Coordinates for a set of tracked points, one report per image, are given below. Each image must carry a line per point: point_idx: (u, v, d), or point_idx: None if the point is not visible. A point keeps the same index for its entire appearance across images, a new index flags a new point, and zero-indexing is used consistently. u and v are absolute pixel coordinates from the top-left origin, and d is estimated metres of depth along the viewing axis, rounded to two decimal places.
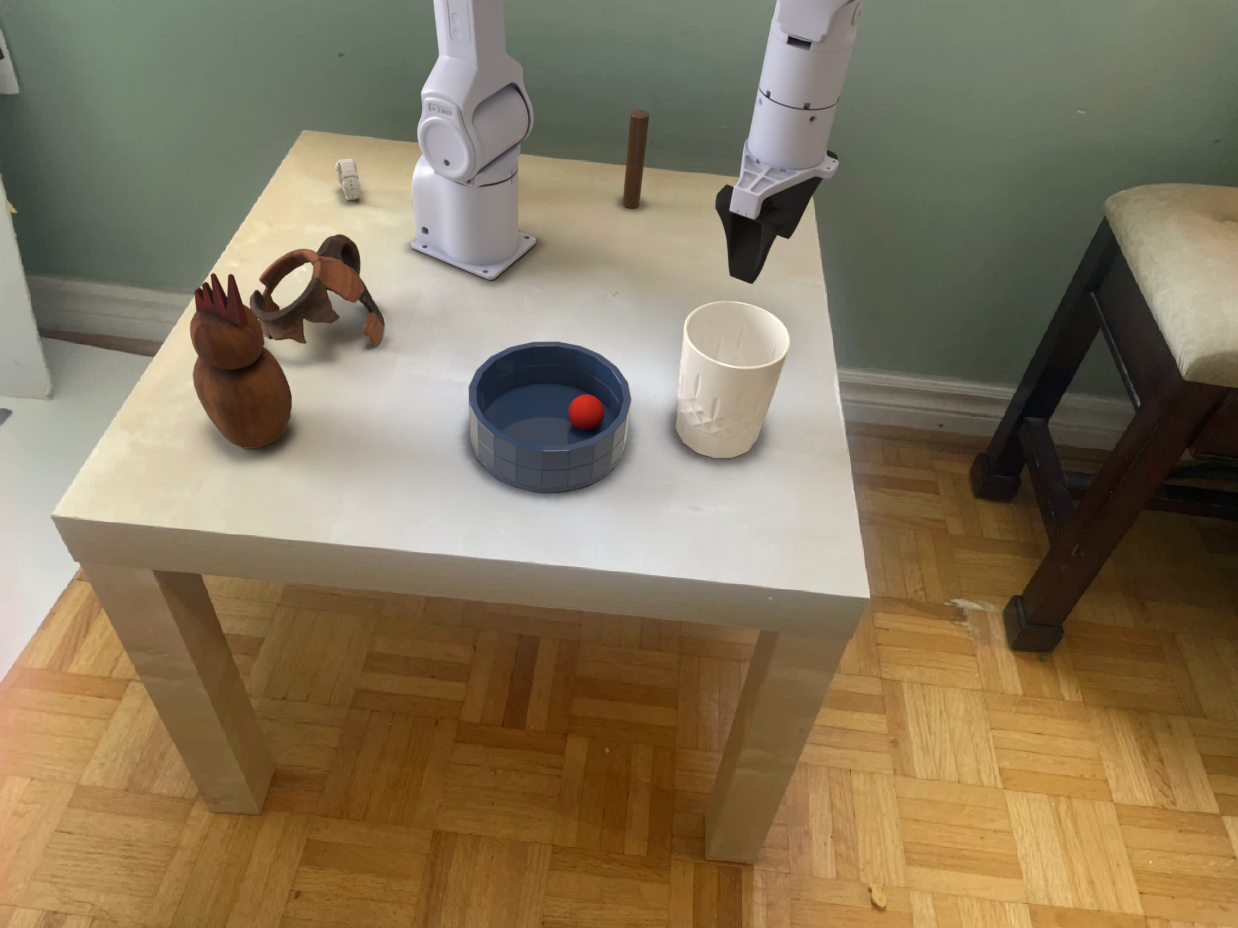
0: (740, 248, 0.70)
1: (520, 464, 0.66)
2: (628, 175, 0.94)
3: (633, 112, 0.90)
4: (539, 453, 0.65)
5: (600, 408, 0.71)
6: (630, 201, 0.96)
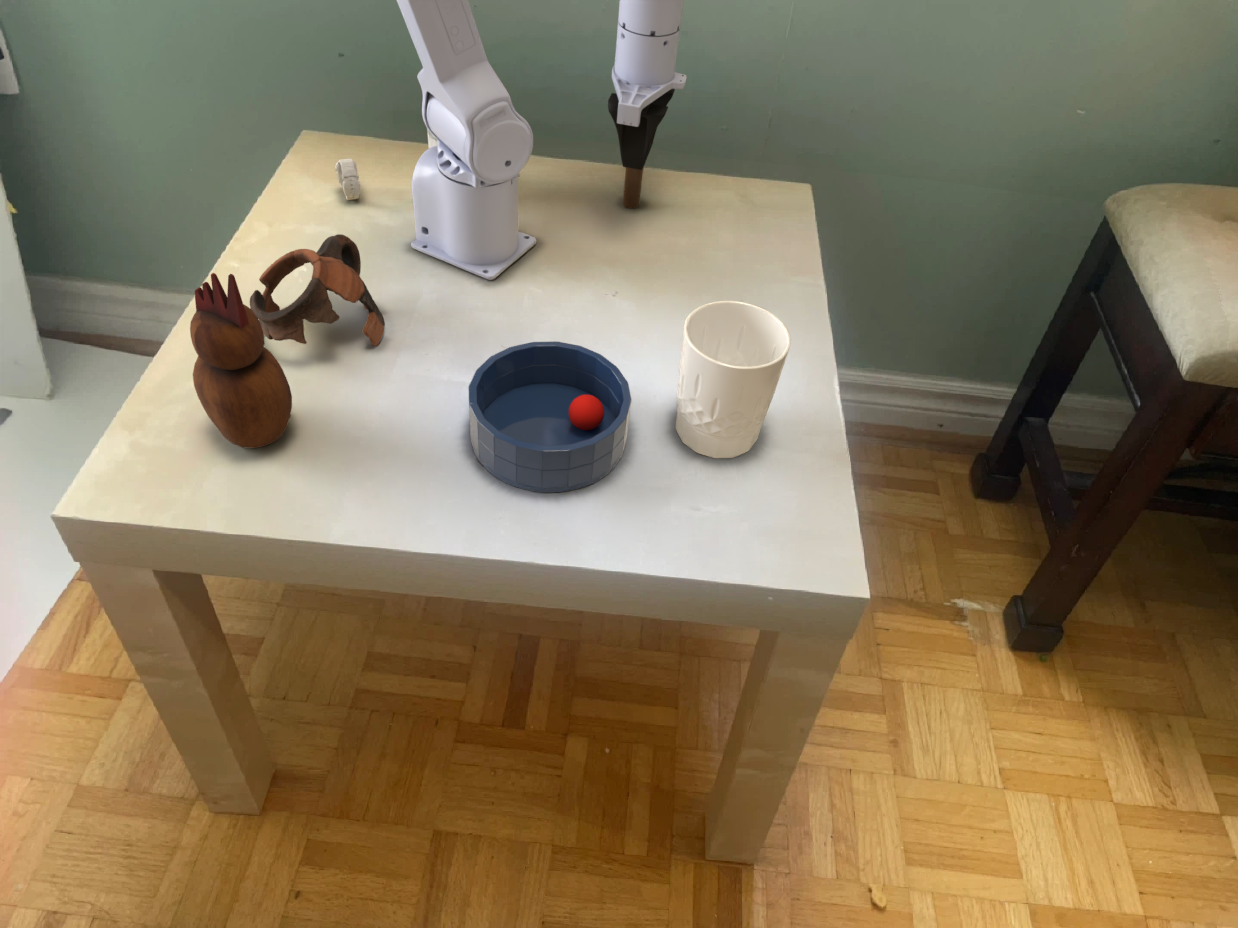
0: (629, 142, 0.90)
1: (520, 464, 0.66)
2: (628, 175, 0.94)
3: None
4: (539, 453, 0.65)
5: (600, 408, 0.71)
6: (630, 201, 0.96)
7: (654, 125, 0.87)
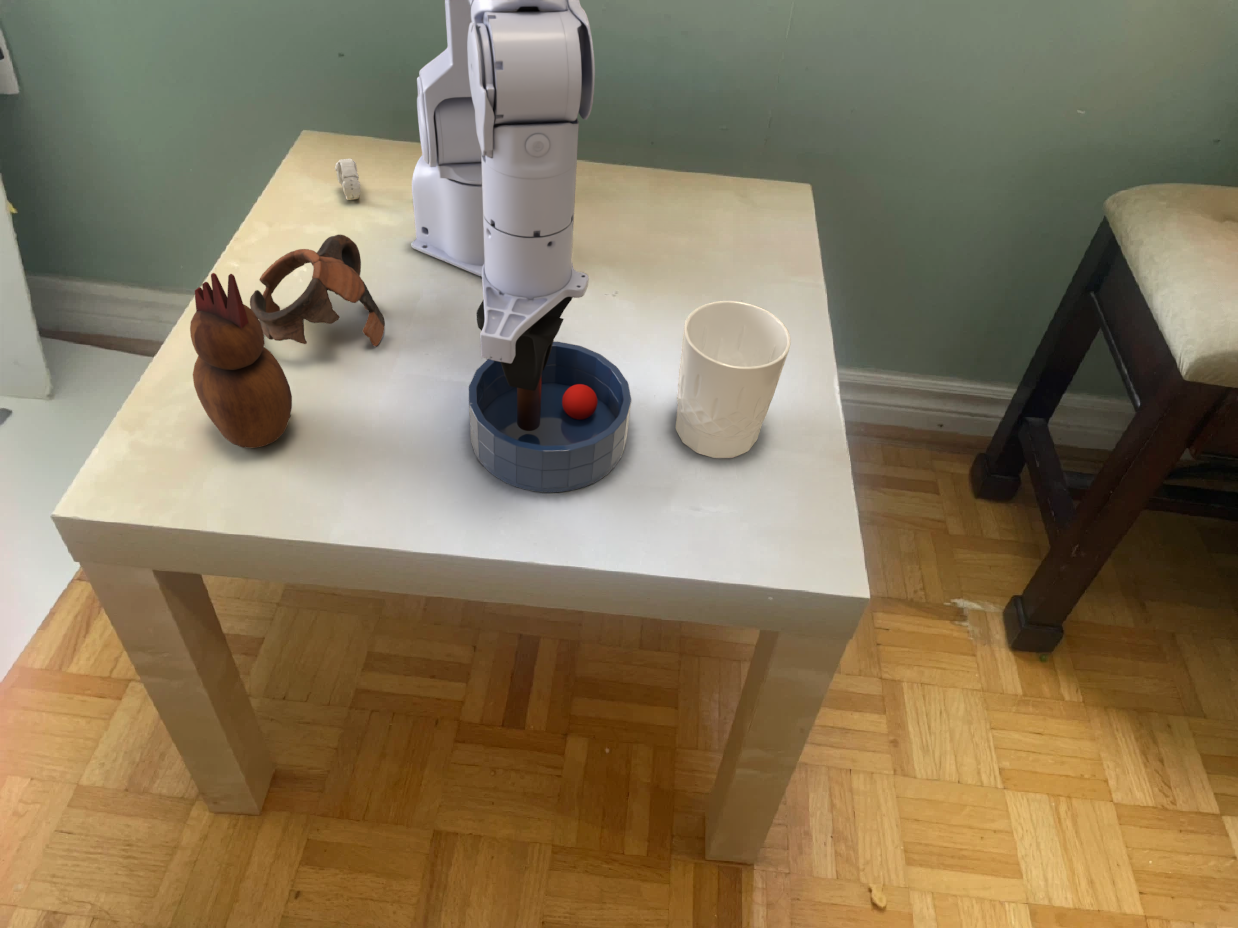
0: (514, 359, 0.64)
1: (520, 464, 0.66)
2: (520, 393, 0.68)
3: None
4: (539, 453, 0.65)
5: (591, 399, 0.72)
6: (525, 423, 0.70)
7: (543, 346, 0.61)
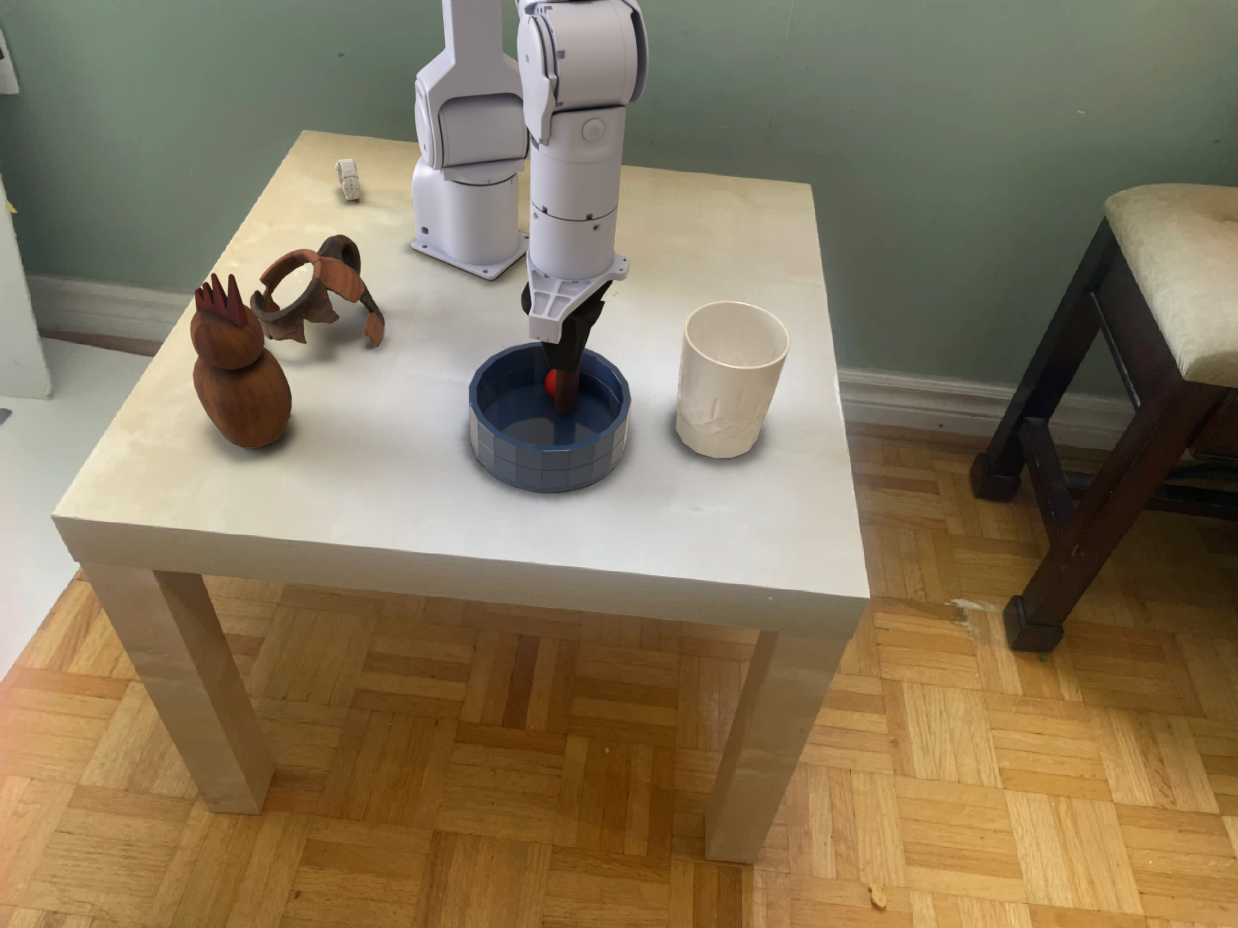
0: None
1: (520, 464, 0.66)
2: (559, 376, 0.69)
3: None
4: (539, 453, 0.65)
5: None
6: (563, 406, 0.71)
7: (586, 328, 0.63)
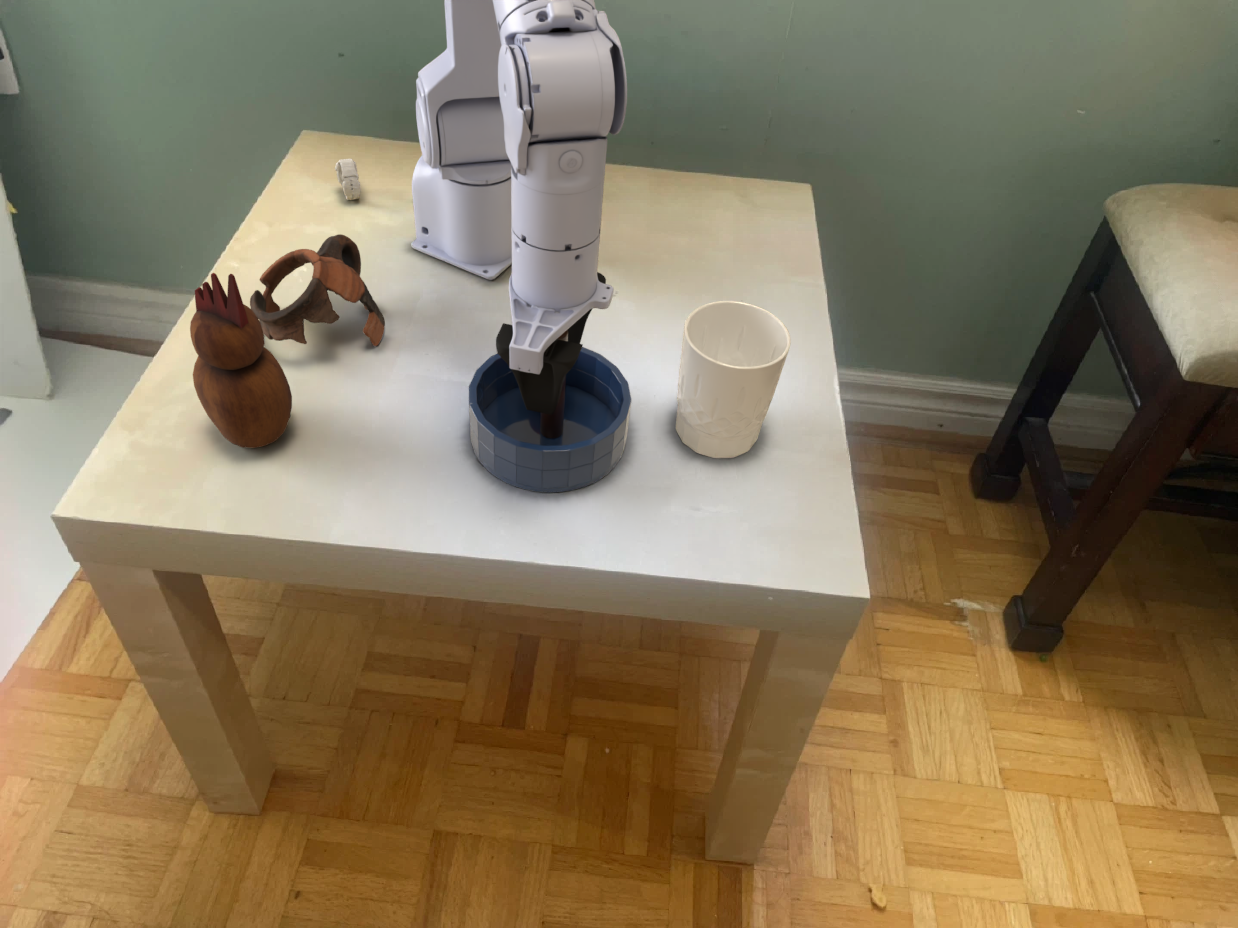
0: (532, 383, 0.64)
1: (520, 464, 0.66)
2: None
3: None
4: (539, 453, 0.65)
5: None
6: (549, 430, 0.71)
7: (562, 372, 0.61)
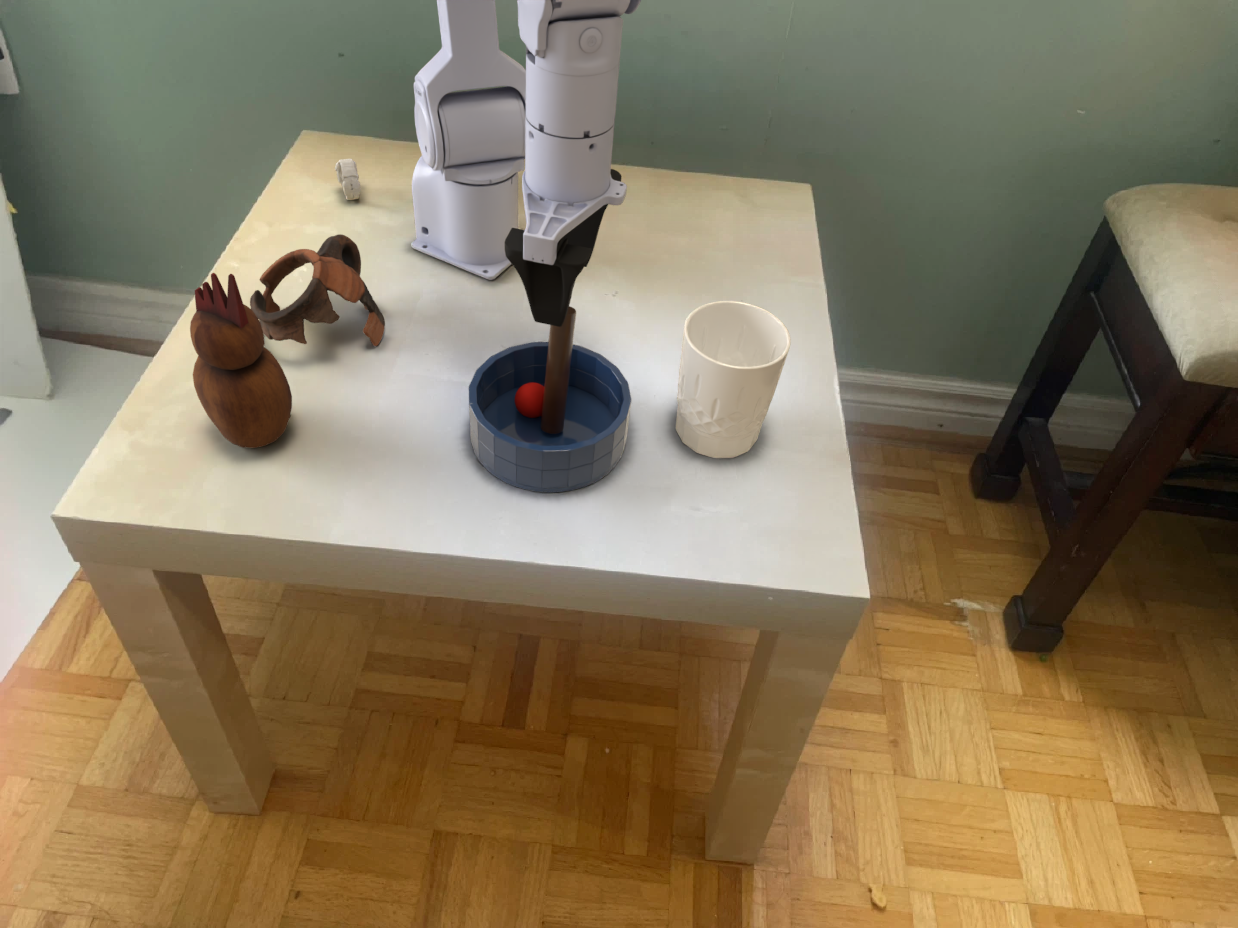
0: (541, 292, 0.63)
1: (520, 464, 0.66)
2: (548, 389, 0.69)
3: None
4: (539, 453, 0.65)
5: None
6: (550, 424, 0.71)
7: (572, 276, 0.60)
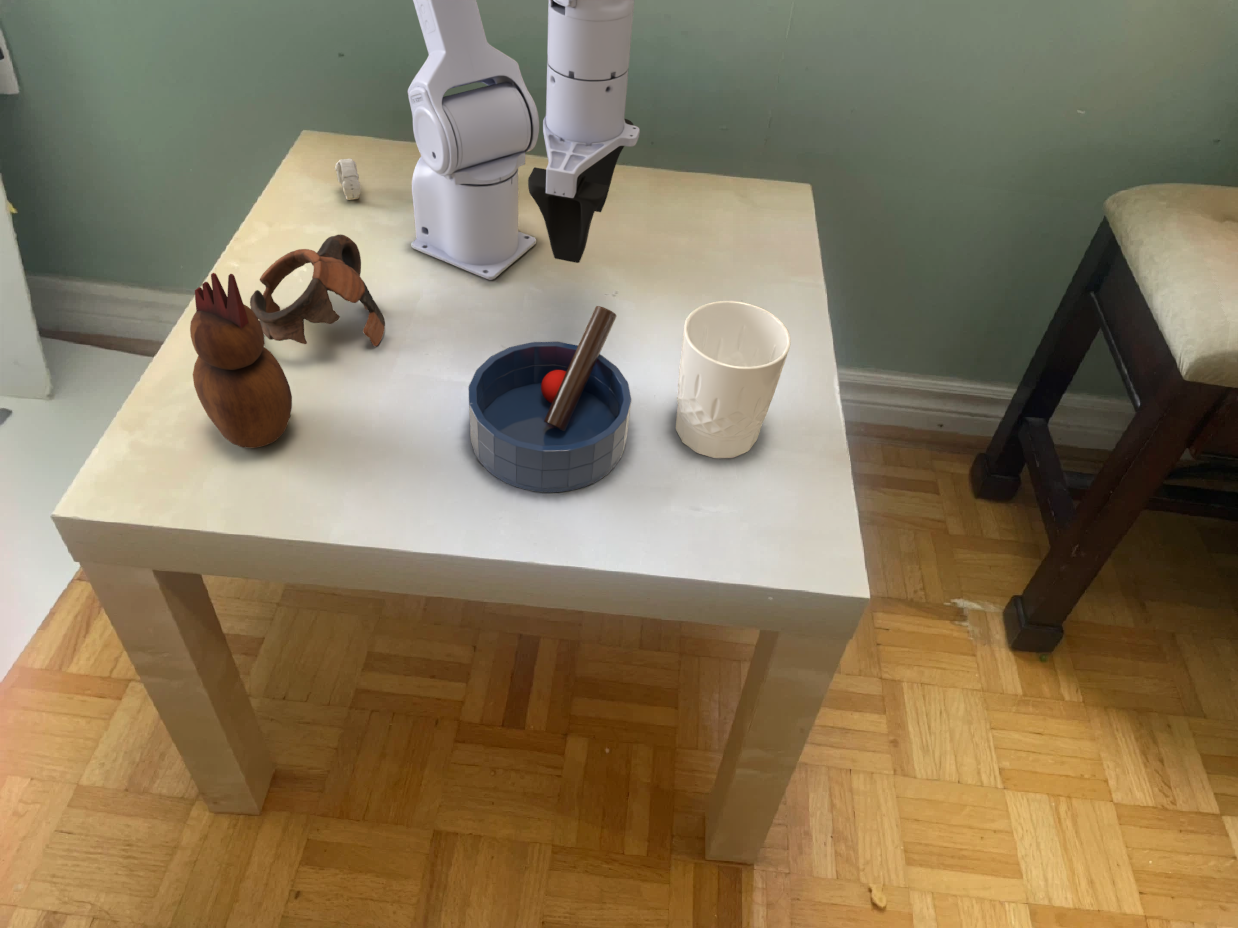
0: (560, 229, 0.69)
1: (520, 464, 0.66)
2: (570, 381, 0.71)
3: None
4: (539, 453, 0.65)
5: (556, 370, 0.73)
6: (561, 416, 0.71)
7: (590, 211, 0.66)
